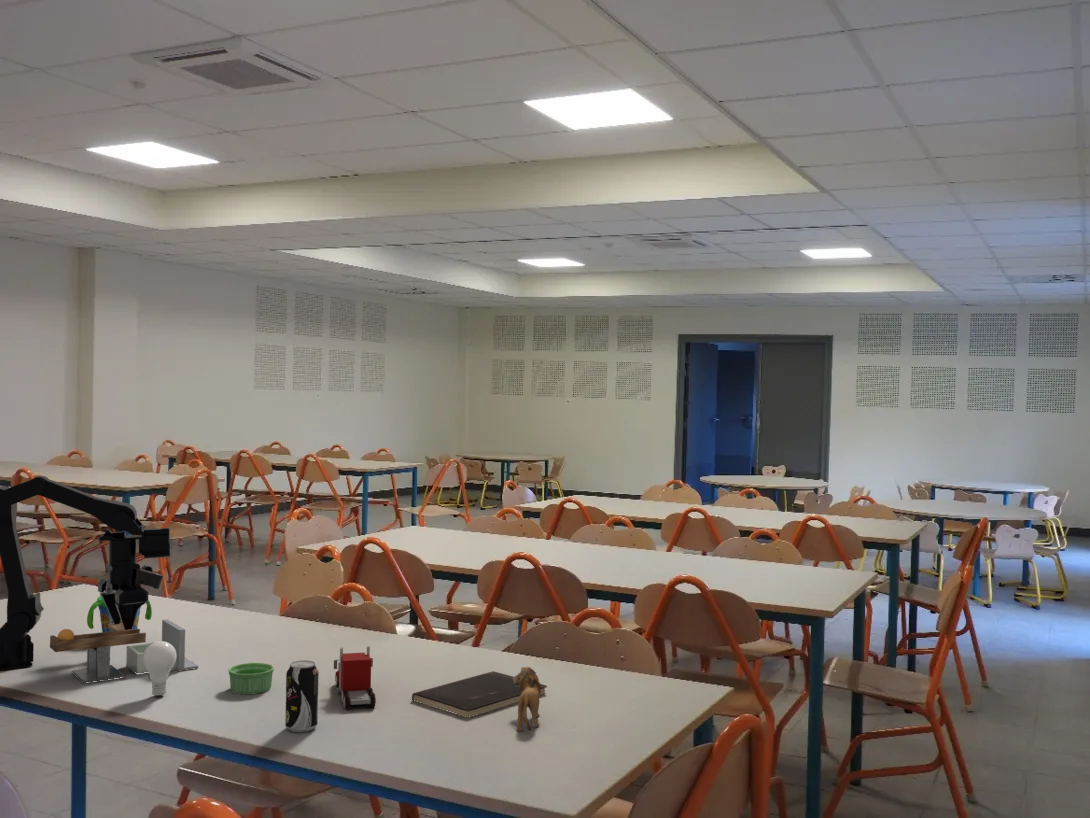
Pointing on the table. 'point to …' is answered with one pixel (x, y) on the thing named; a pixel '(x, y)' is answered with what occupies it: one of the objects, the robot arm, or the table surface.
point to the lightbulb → (159, 664)
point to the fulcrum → (98, 666)
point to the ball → (65, 635)
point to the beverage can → (301, 696)
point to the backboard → (177, 643)
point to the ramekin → (251, 678)
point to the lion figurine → (528, 696)
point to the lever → (99, 639)
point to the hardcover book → (473, 694)
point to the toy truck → (355, 678)
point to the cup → (137, 658)
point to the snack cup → (107, 618)
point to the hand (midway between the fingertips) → (122, 628)
